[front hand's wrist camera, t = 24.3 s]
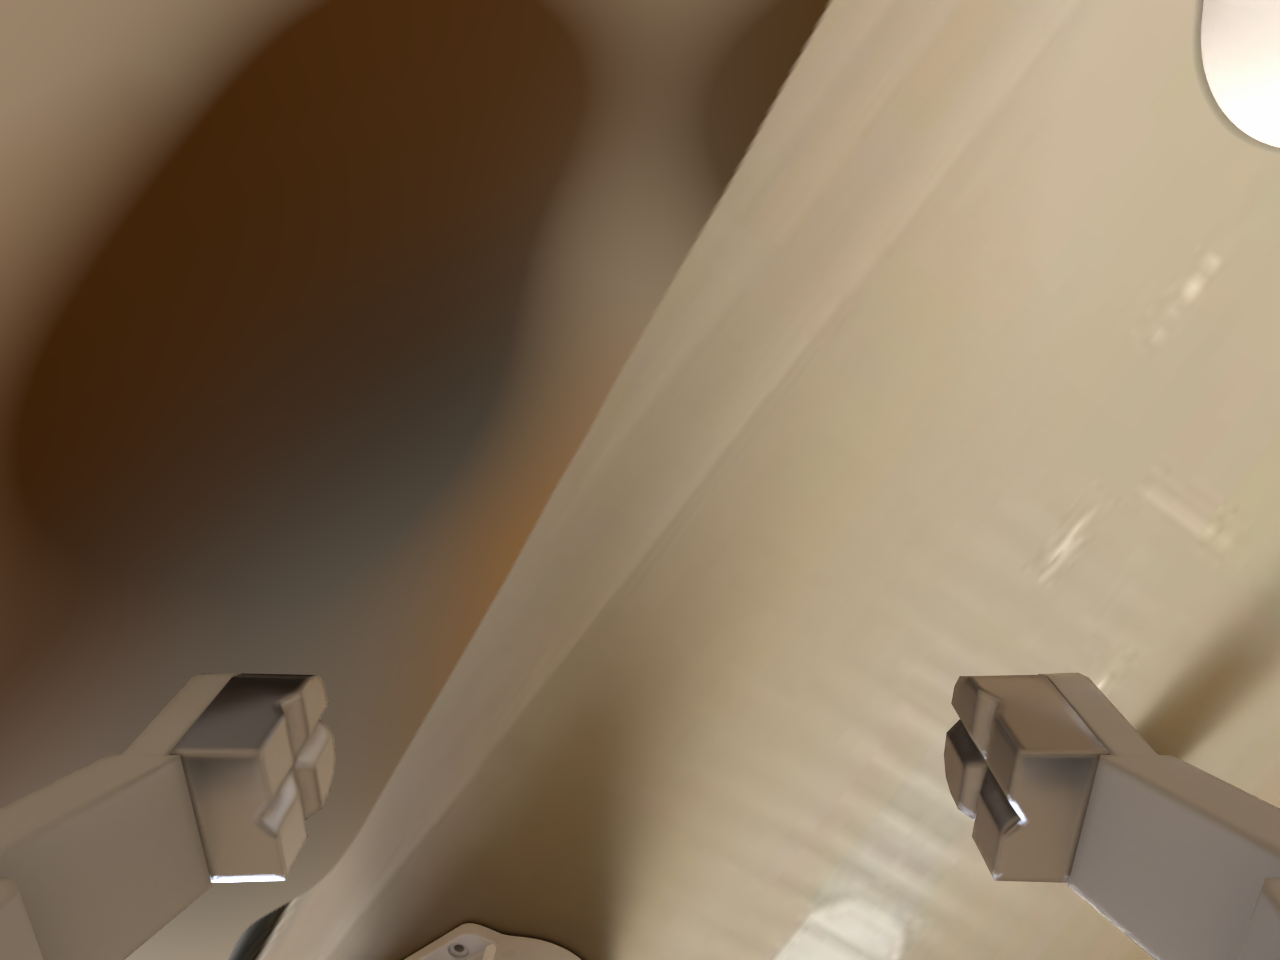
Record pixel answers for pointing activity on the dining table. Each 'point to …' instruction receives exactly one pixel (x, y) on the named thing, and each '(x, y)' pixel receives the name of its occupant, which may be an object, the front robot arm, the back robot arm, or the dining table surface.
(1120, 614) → the dining table surface
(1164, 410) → the dining table surface
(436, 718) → the dining table surface
